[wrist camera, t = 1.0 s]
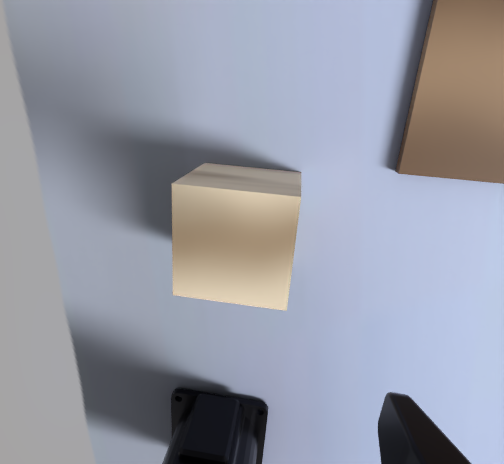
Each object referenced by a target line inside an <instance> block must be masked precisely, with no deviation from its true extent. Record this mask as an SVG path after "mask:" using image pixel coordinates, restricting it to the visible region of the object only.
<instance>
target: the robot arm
mask: <svg viewBox="0 0 504 464" xmlns="http://www.w3.org/2000/svg"><path fill="white" fill-rule="evenodd" d="M179 396H180V397H179ZM171 412H172V440H171V442H170V445H169V448H168V450H167V453H166V455H165V458H164V461H163V463H162V464H262V458H263V449H264V441H265V432H266V424H267V415H268V406H267V404H265V403H264V402H260V401H254V400H248V399H241V398H235V397H229V396H223V395H217V394H211V393H205V392H199V391H193V390H186V389H175V390H174V392H173V394H172V397H171ZM378 437H379V446H380V455H381V464H471V463H470V462H469V460H468V459H467V458H466V457H465V456H464V455H463V454H462V453H461V452H460V451H459V450H458V448H457V447H456V446H455V445H454V444H453V443H452V442H451V441H450V440H449V439H448V438H447V437H446V435H445V434H444V433H443V432H442V431H441V430H440V429H439V428H438V427H437V426H436V425H435V423H434V422H433V421H432V420H431V419H430V418H429V417H428V416H427V415H426V414H425V413H424V411H423V410H422V409H421V408H420V407H419V406H418V405H417V404H416V403H415V402H414V401H413V400H412V398H410V397H409V396H408V395H405V394H399V393H393V392H389V393H387V395H386V396H385V399H384V403H383V406H382V410H381V413H380V417H379V421H378Z"/></svg>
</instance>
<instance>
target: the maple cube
mask: <svg viewBox="0 0 504 464" xmlns="http://www.w3.org/2000/svg"><path fill="white" fill-rule="evenodd" d="M300 201H301V172H294V171H283V170H273V169H263V168H253V167H242V166H232V165H222V164H212V163H204V164H202V165H200V166H199V167H197V168H196V169H194V170H192V171H191V172H189V173H188V174H186V175H184V176H183V177H181V178H180V179H178V180H177V181H175V182H173V183H172V254H173V295H176V296H183V297H190V298H197V299H205V300H212V301H219V302H227V303H234V304H241V305H248V306H256V307H263V308H270V309H278V310H285V311H287V304H288V296H289V288H290V280H291V272H292V264H293V256H294V249H295V241H296V233H297V225H298V217H299V209H300Z"/></svg>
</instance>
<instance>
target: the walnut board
mask: <svg viewBox="0 0 504 464" xmlns="http://www.w3.org/2000/svg"><path fill="white" fill-rule="evenodd" d="M396 172H397V173H399V174H408V175H419V176H429V177H440V178H450V179H461V180H472V181H482V182H493V183H503V184H504V0H433V4H432V8H431V13H430V17H429V22H428V26H427V31H426V36H425V40H424V45H423V49H422V54H421V58H420V63H419V67H418V72H417V76H416V81H415V85H414V90H413V94H412V99H411V103H410V108H409V112H408V117H407V121H406V126H405V130H404V135H403V139H402V144H401V148H400V153H399V157H398V162H397V166H396Z"/></svg>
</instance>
